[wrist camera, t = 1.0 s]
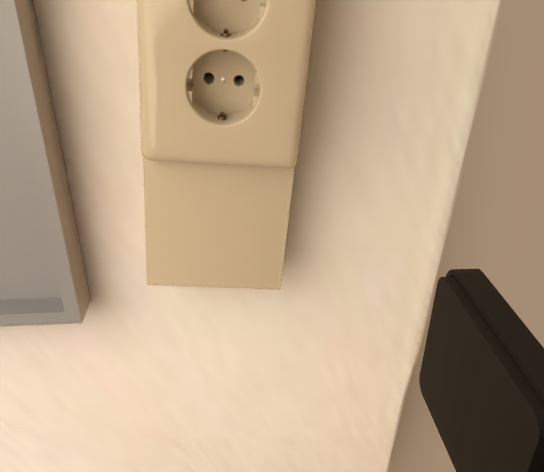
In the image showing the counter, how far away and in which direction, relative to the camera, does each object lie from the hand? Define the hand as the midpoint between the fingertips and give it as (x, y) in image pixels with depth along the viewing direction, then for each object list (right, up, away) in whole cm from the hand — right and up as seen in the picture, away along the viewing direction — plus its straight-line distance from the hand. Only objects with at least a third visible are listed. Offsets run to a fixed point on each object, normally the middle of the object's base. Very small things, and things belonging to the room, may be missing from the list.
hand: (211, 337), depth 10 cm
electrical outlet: (-1, +9, +16) cm, 19 cm away
